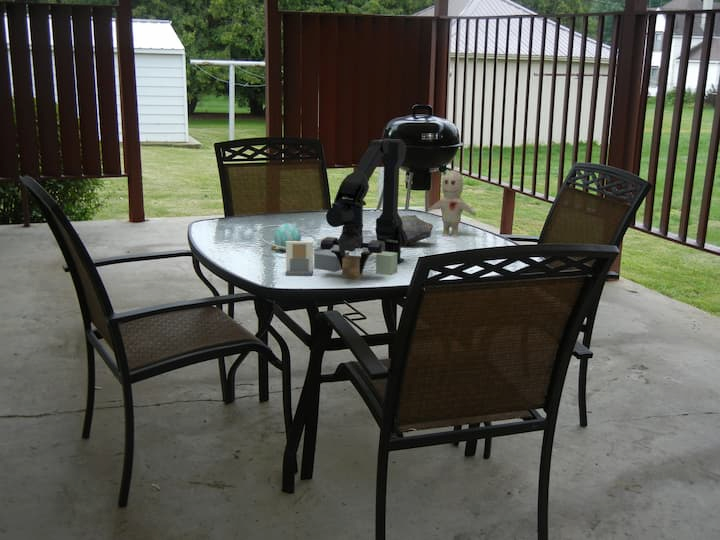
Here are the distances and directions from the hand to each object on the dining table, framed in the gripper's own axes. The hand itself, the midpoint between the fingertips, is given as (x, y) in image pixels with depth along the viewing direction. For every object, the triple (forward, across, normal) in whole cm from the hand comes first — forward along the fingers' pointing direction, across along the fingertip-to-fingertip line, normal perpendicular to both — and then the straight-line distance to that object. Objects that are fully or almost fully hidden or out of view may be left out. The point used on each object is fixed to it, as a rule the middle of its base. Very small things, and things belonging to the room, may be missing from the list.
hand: (352, 272), depth 232 cm
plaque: (+1, -16, -1) cm, 16 cm away
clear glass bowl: (+2, -31, +28) cm, 41 cm away
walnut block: (+1, 0, 0) cm, 1 cm away
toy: (+1, +20, +72) cm, 74 cm away
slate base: (+2, -9, +10) cm, 14 cm away
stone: (+2, +7, +52) cm, 52 cm away
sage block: (+1, +9, +9) cm, 12 cm away
